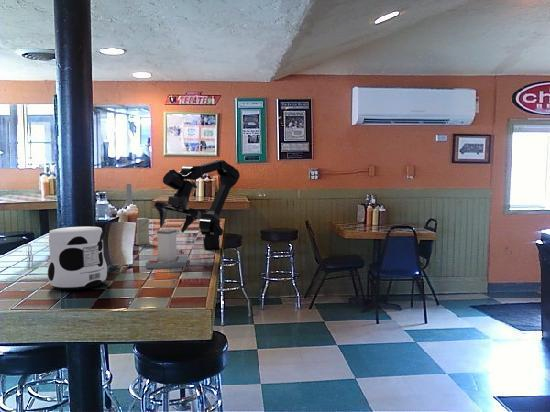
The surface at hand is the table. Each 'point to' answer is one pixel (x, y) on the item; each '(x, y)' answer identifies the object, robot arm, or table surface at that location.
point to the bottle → (128, 196)
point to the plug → (167, 245)
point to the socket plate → (167, 262)
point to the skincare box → (142, 231)
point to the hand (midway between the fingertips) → (171, 229)
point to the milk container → (76, 258)
